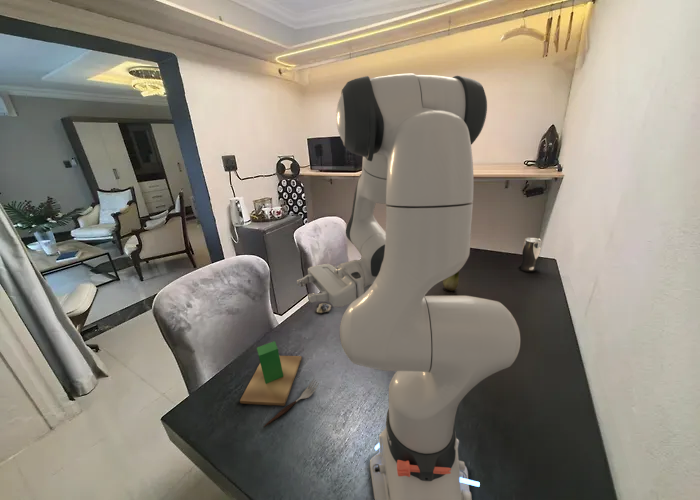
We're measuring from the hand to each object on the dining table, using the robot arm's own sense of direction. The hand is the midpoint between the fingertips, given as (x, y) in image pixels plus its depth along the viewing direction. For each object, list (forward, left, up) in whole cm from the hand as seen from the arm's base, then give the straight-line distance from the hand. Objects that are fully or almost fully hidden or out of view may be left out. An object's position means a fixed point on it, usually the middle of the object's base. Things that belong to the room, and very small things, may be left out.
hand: (303, 290), depth 71 cm
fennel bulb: (+27, -21, -21) cm, 41 cm away
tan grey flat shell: (+28, +3, -25) cm, 38 cm away
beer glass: (+62, -91, -25) cm, 112 cm away
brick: (-7, +10, -24) cm, 27 cm away
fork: (-15, +2, -25) cm, 29 cm away
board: (-7, +10, -25) cm, 28 cm away
